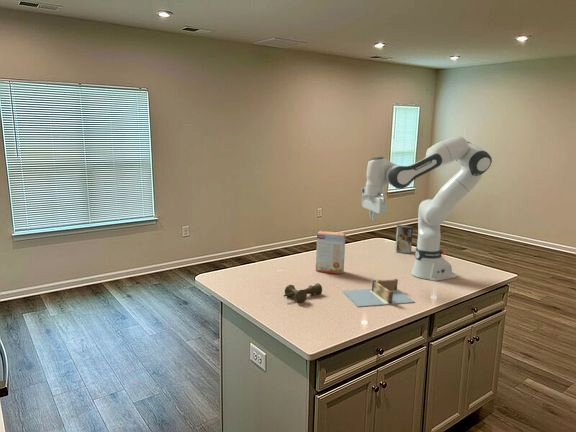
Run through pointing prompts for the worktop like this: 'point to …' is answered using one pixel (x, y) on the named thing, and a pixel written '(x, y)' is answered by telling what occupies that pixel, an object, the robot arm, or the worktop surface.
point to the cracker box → (330, 252)
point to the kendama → (302, 292)
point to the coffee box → (404, 239)
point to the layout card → (372, 299)
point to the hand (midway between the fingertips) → (372, 220)
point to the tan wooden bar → (382, 291)
